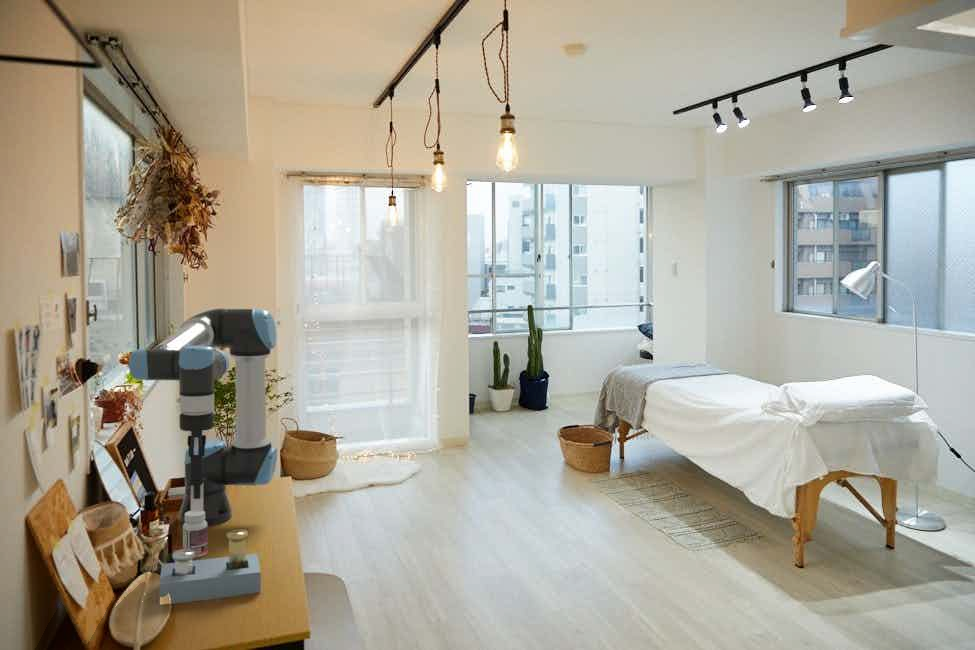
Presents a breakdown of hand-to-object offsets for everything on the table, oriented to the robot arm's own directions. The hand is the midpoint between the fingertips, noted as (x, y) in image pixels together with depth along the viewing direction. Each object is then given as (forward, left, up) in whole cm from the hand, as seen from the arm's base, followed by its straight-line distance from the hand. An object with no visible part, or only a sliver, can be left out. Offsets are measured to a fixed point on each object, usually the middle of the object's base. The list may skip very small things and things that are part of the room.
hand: (197, 510), depth 172 cm
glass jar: (0, +9, -15) cm, 17 cm away
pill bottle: (-24, -1, -20) cm, 31 cm away
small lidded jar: (0, -3, -18) cm, 19 cm away
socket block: (0, +3, -19) cm, 20 cm away
